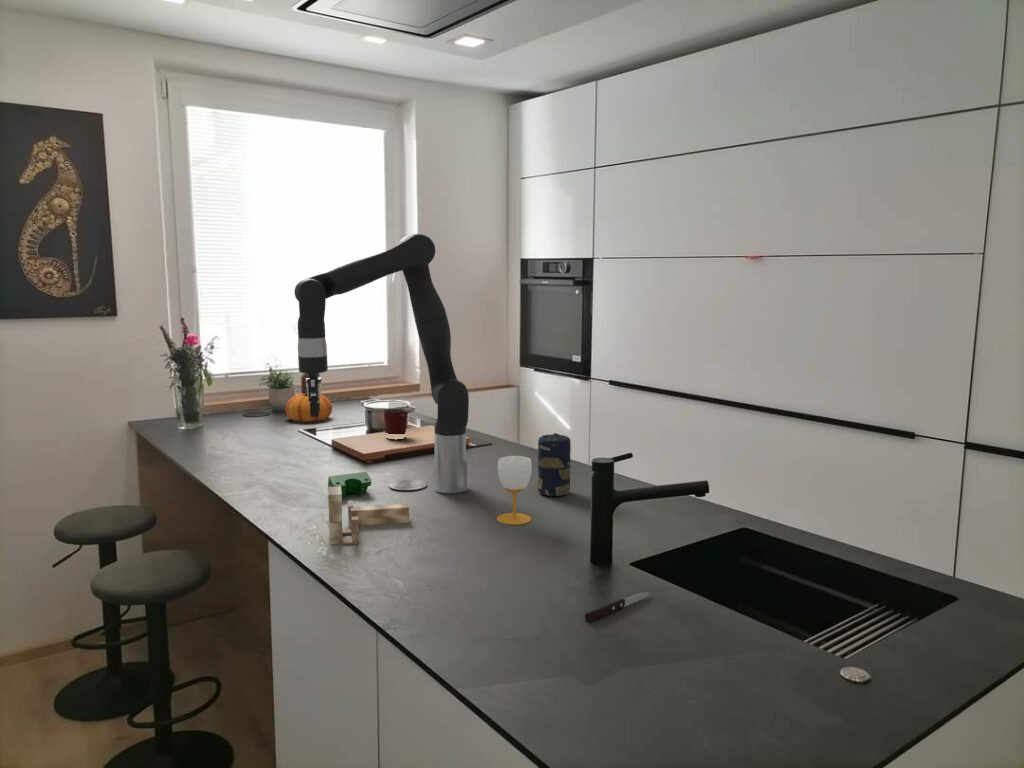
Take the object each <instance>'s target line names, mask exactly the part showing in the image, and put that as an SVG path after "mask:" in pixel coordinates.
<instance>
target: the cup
mask: <svg viewBox="0 0 1024 768" xmlns="http://www.w3.org/2000/svg"><path fill="white" fill-rule="evenodd" d="M532 470H533V465H532V460H531V458H529V457H527V456H522V455H521V456H520V455H508V456H507V455H506V456H502V457H500V458H498V461H497V475H498V478H499V481H500V484H501V486H502V488H504V489H505V490H506V491H507V492H509V493H511V494H512V512H506V513H502V514H499V515H498V516H497V517H496V521H497V522H499V523H501V524H503V525H507V526H508V525H509V526H510V525H511V526H521V525H526V524H529V523H531V521H532V518H531V516H530V515H527V514H524V513H521V512H517V507H516V506H517V494H518V493H520V492H522V491H523V490H525V489H526V488H527V486H528V485H529V483H530V481H531V480H530V479H531V476H532Z"/></svg>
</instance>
